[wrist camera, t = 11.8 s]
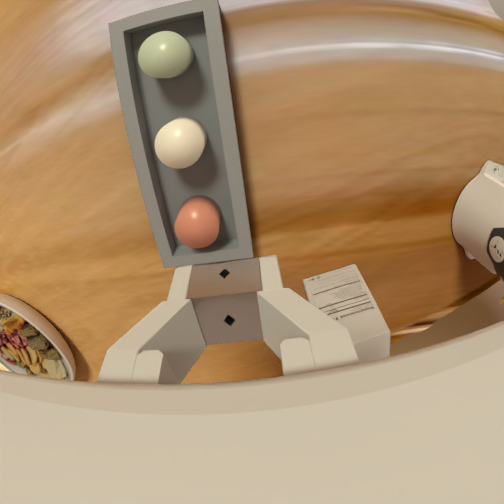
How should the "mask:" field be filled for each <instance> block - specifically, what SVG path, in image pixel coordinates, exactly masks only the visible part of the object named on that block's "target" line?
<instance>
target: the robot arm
mask: <svg viewBox="0 0 504 504" xmlns="http://www.w3.org/2000/svg"><path fill="white" fill-rule="evenodd" d="M452 230H453V235H454V237H455V239H456V241H457V242H458V243H459V244H460V245H461V246H462V247H463V248H464V250H465V254H466V256H467V257H468V258H469V259H474V258H475V259H476V260H478V261H479V262H480V263H481V264H482V265H483V266H484V267H486V268H487V269H488V270H489V271H490V272H491V273H493V274H496V273H497V274H498V275H499V276H500V278H501V279H502V281H503V282H504V166H503V165H501V164H498V163H496V162H493V161H490V160H488V161H487V162H486V163H485V164H484V166H483V167H482V169H481V171H480V173H479V174H478V175H477V176H476V177H475V178H474V179H473V180H471V181H470V182H469V183H468V184H467V186H466V187H465V188H464V190H463V191H462V193H461V194H460V196H459V198H458V200H457V203H456V206H455V209H454V212H453V218H452ZM259 262H260V263H259ZM260 270H261V271H260ZM254 340H264V342H265V343H266V344H267V345H268V346H269V347H270V348H271V349H272V351H273V352H274V353H275V354H276V355H277V356H278V357H279V358H280V359H281V363H282V376H281V377H273V378H264V379H255V380H244V381H232V382H218V383H198V384H180V383H181V382H182V380H183V379H184V378H185V376H186V375H187V373H188V372H189V371H190V369H191V368H192V366H193V365H194V364H195V362H196V361H197V359H198V358H199V357H200V355H201V354H202V353H203V351H204V350H205V348H206V347H207V346H206V345H212V344H222V343H230V342H241V341H254ZM0 504H504V320H503V321H501V322H498V323H496V324H493V325H490V326H488V327H485V328H482V329H480V330H477V331H474V332H471V333H468V334H466V335H463V336H460V337H457V338H454V339H450V340H447V341H444V342H441V343H438V344H434V345H431V346H428V347H424V348H421V349H417V350H414V351H410V352H406V353H402V354H398V355H394V356H390V357H386V358H382V359H378V360H373V361H369V362H364V363H359V360H358V357H357V354H356V351H355V348H354V346H353V343H352V340H351V337H350V334H349V332H348V329H347V328H346V327H344V326H343V325H341V324H340V323H338V322H337V321H336V320H334V319H333V318H331V317H330V316H328V315H327V314H325V313H324V312H323V311H321V310H320V309H318V308H317V307H315V306H314V305H312V304H311V303H310V302H308V301H307V300H305V299H304V298H302V297H301V296H299V295H298V294H297V293H295V292H294V291H292V290H291V289H289V288H283V284H282V279H281V274H280V269H279V264H278V259H277V256H276V255H270V256H264V257H258V258H251V259H244V260H238V261H231V262H218V263H208V264H197V265H188V266H180V267H177V268H176V269H175V273H174V276H173V280H172V284H171V287H170V291H169V295H168V299H167V301H163V302H161V303H160V304H159V305H158V306H157V307H155V308H154V309H153V310H152V311H151V312H150V313H149V314H147V315H146V316H145V317H144V318H143V319H142V320H141V321H139V322H138V323H137V324H136V325H135V326H134V327H133V328H132V329H130V330H129V331H128V332H127V333H126V334H125V335H124V336H122V337H121V338H120V339H119V340H118V341H117V342H116V343H115V344H113V345H112V346H111V347H110V348H109V349H108V350H107V353H106V356H105V359H104V362H103V365H102V368H101V371H100V374H99V377H98V380H97V382H84V381H73V380H64V379H55V378H47V377H39V376H33V375H26V374H20V373H14V372H9V371H3V370H0Z"/></svg>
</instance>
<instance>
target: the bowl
mask: <svg viewBox="0 0 504 504" xmlns="http://www.w3.org/2000/svg"><path fill="white" fill-rule="evenodd" d="M0 363H1V364H2V365H4V366H5V367H6V368H7V369H9V370H10V371H11V372H14V373H20V374H26V375H33V376H39V377H47V378H55V379H64V380H73V381H74V378H75V372H76V367H75V361H74V357H73V354H72V352H71V350H70V348H69V346H68V344H67V343H66V341H65V340H64V338H63V337H62V336H61V334H60V333H59V332H58V331H57V329H56V328H55V327H54V326H53V325H52V324H51V323H50V322H49V321H48V320H47V319H46V318H45V317H44V316H42V315H41V314H40V313H39V312H37V311H36V310H35V309H33V308H32V307H31V306H29V305H28V304H26V303H24V302H23V301H21V300H19V299H17V298H15V297H12V296H10V295H7V294H3V293H0Z"/></svg>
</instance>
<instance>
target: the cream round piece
mask: <svg viewBox="0 0 504 504" xmlns="http://www.w3.org/2000/svg"><path fill="white" fill-rule="evenodd" d="M206 142H207V133H206V130H205V128H204V126H203V125H202V123H201V122H200V121H198V120H197V119H195V118H192V117H187V116H184V117H178V118H176V119H174V120H172V121H171V122H169V123H168V124H166V125H165V126H163V127H162V128H161V129H160V131H159V132H158V134H157V136H156V138H155V151H156V154H157V156H158V158H159V159H160V161H161V162H163V163H164V164H165V165H167V166H169V167H171V168H176V169H181V168H186V167H189V166H191V165H193V164H194V163H195V162H196V161H197V160H198V159H199V157H200V156H201V154H202V152H203V150H204V148H205V145H206Z"/></svg>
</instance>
